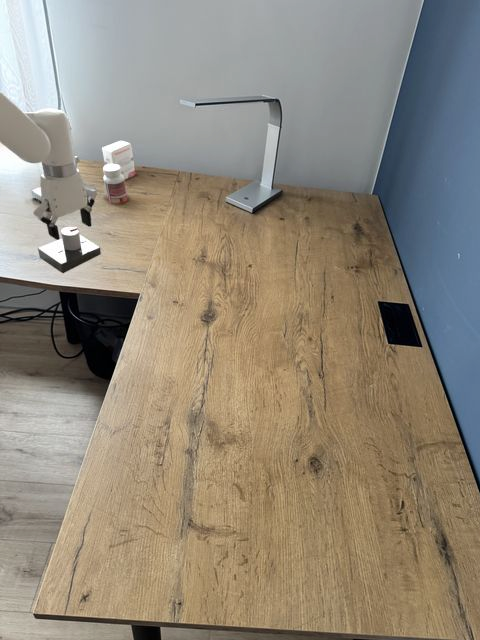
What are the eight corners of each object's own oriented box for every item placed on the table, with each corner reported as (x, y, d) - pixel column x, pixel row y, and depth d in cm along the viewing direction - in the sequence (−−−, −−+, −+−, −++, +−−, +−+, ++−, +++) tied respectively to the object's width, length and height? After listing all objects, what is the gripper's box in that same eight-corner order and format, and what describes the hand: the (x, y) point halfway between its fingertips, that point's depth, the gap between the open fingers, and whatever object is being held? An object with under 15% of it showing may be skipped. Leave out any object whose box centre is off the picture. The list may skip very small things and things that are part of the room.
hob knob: (70, 252, 131) (67, 236, 128) (60, 245, 133) (57, 229, 129) (84, 246, 134) (82, 230, 130) (74, 239, 135) (71, 223, 132)
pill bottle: (131, 201, 159) (126, 166, 151) (117, 208, 156) (111, 173, 148) (118, 195, 162) (112, 161, 154) (103, 202, 158) (96, 167, 150)
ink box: (126, 173, 173) (121, 139, 165) (136, 177, 171) (131, 142, 163) (107, 182, 168) (101, 147, 160) (117, 186, 166) (111, 151, 158)
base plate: (63, 274, 129) (61, 263, 127) (39, 257, 133) (37, 247, 131) (101, 256, 136) (100, 246, 134) (78, 241, 140) (76, 231, 138)
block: (55, 213, 150) (52, 201, 147) (29, 197, 155) (26, 185, 152) (99, 197, 160) (97, 186, 157) (73, 183, 165) (71, 171, 162)
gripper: (80, 152, 125) (89, 214, 137) (16, 171, 115) (32, 237, 127) (100, 162, 122) (107, 225, 134) (36, 183, 112) (50, 249, 124)
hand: (71, 231), depth 130 cm, fingers open, 9 cm apart
